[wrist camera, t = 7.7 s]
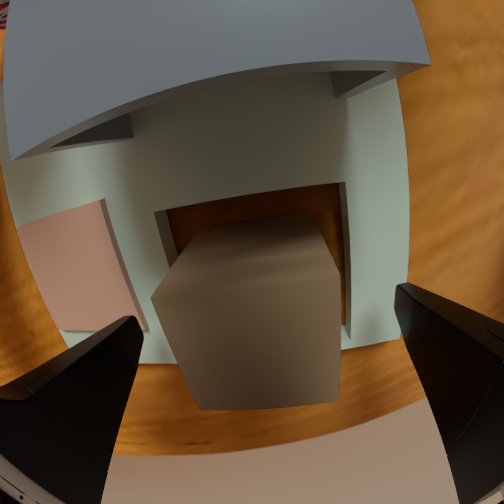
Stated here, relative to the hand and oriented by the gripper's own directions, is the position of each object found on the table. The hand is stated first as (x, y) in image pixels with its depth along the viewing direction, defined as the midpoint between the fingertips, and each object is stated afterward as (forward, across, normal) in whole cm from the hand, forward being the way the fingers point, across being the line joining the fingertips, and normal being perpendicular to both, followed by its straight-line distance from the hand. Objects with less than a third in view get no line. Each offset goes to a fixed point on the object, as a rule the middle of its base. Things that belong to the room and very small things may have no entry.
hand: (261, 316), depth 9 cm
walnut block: (+4, 0, 0) cm, 4 cm away
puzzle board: (+3, +3, -4) cm, 6 cm away
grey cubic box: (+2, 0, -10) cm, 10 cm away
